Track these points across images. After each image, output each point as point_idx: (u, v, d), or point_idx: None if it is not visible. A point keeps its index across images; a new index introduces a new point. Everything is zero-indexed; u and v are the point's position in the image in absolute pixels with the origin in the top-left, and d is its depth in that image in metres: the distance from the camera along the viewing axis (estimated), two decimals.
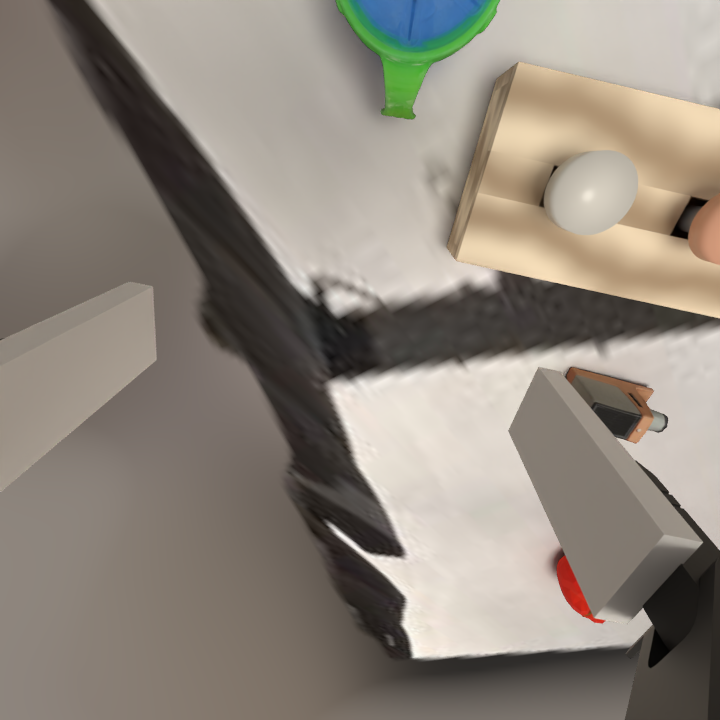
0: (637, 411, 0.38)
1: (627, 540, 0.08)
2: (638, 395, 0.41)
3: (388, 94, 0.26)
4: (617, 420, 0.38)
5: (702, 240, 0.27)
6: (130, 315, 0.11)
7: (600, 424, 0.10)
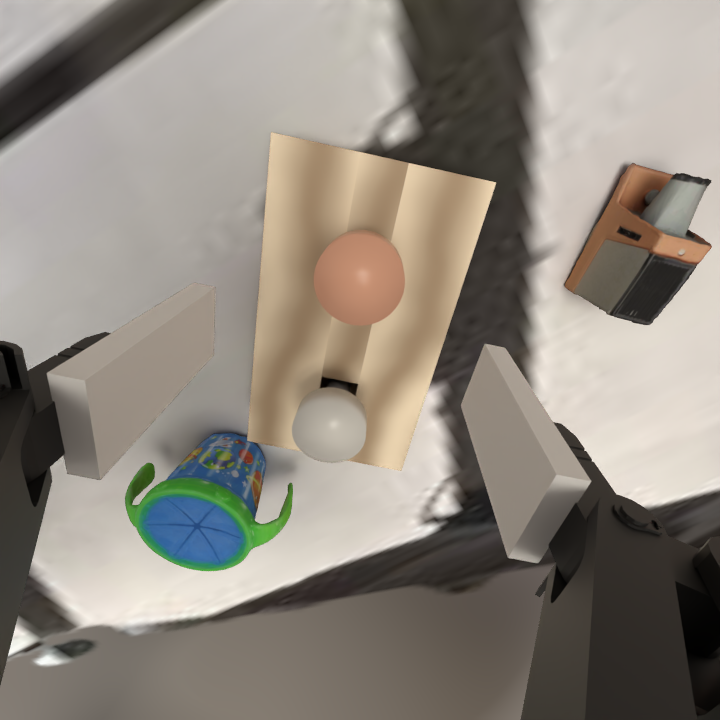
0: (643, 252, 0.24)
1: (533, 485, 0.09)
2: (626, 216, 0.26)
3: (273, 536, 0.36)
4: (652, 284, 0.25)
5: None
6: (199, 313, 0.12)
7: (528, 390, 0.11)
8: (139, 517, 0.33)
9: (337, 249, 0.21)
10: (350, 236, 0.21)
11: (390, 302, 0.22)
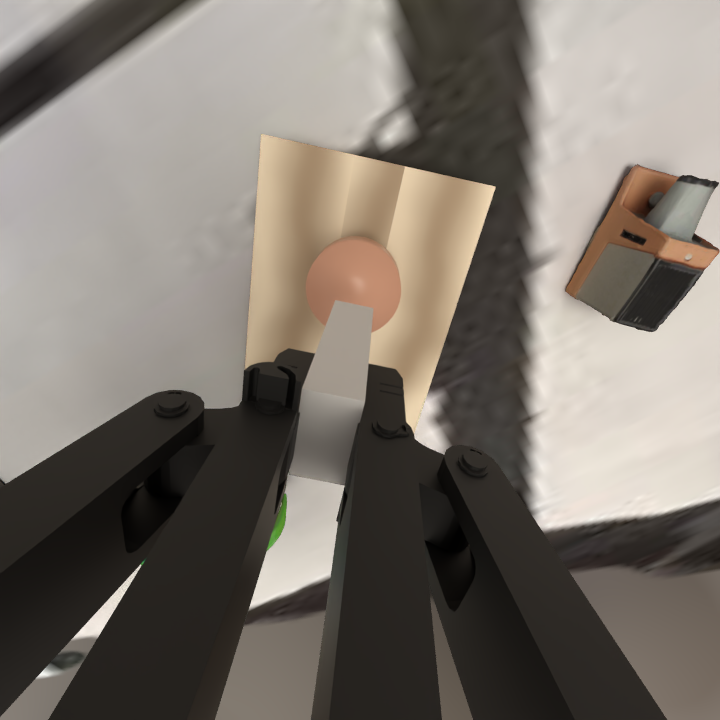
0: (648, 257, 0.24)
1: None
2: (630, 219, 0.25)
3: None
4: (657, 289, 0.24)
5: None
6: None
7: (366, 338, 0.12)
8: None
9: (330, 256, 0.20)
10: (344, 243, 0.20)
11: (386, 311, 0.21)
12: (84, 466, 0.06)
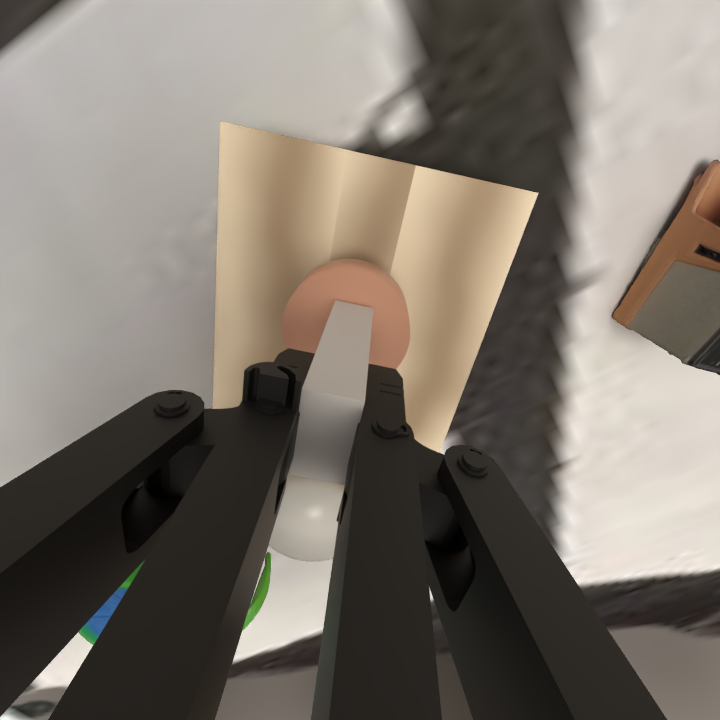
0: None
1: None
2: (710, 231, 0.19)
3: (244, 627, 0.29)
4: None
5: None
6: None
7: (366, 338, 0.12)
8: None
9: (314, 289, 0.15)
10: (332, 271, 0.14)
11: (390, 360, 0.16)
12: (84, 466, 0.06)
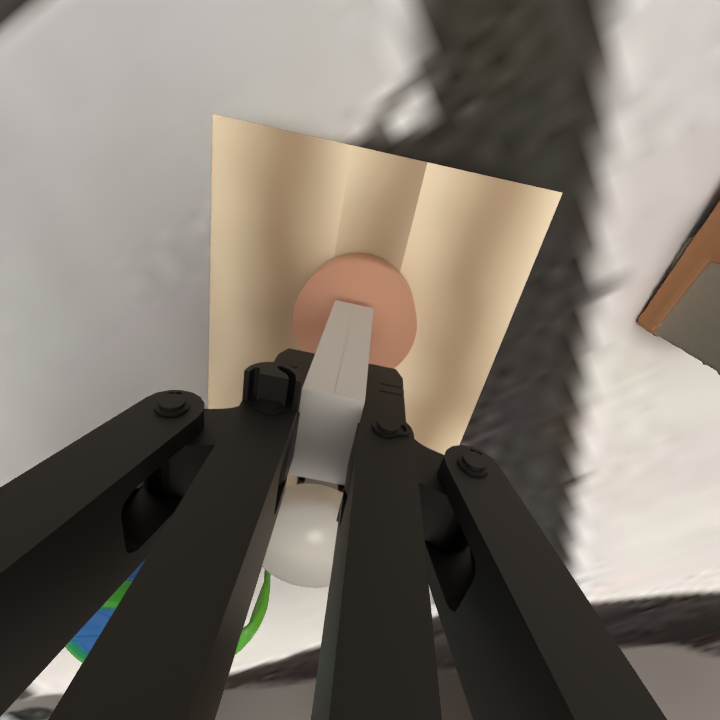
0: None
1: None
2: None
3: (242, 647, 0.27)
4: None
5: None
6: None
7: (366, 338, 0.12)
8: None
9: (324, 282, 0.15)
10: (342, 264, 0.15)
11: (396, 351, 0.16)
12: (84, 466, 0.06)
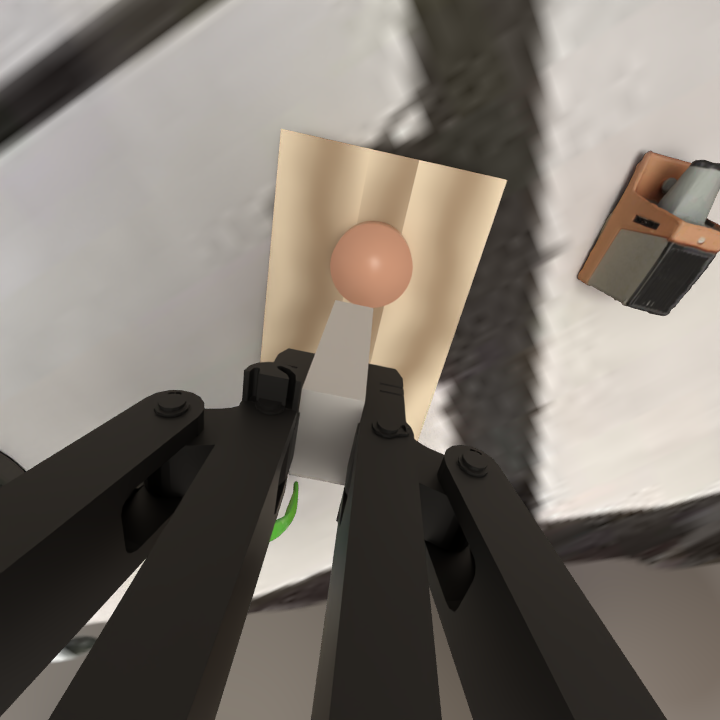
0: (661, 241, 0.24)
1: None
2: (643, 204, 0.26)
3: (279, 534, 0.36)
4: (670, 273, 0.24)
5: None
6: None
7: (366, 338, 0.12)
8: None
9: (352, 238, 0.23)
10: (364, 226, 0.23)
11: (399, 286, 0.25)
12: (84, 466, 0.06)
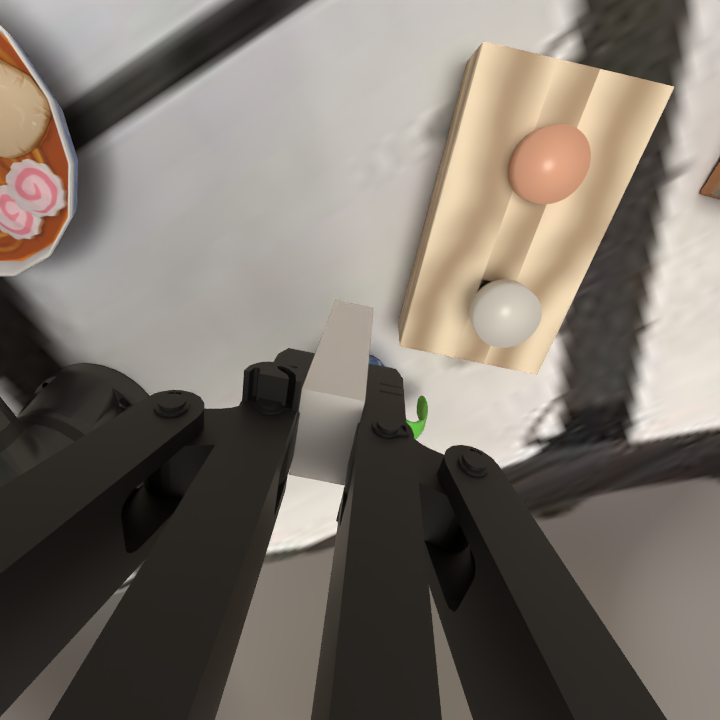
0: None
1: None
2: None
3: (417, 436, 0.39)
4: None
5: None
6: None
7: (366, 338, 0.12)
8: None
9: (541, 136, 0.27)
10: (553, 125, 0.27)
11: (574, 182, 0.28)
12: (84, 466, 0.06)
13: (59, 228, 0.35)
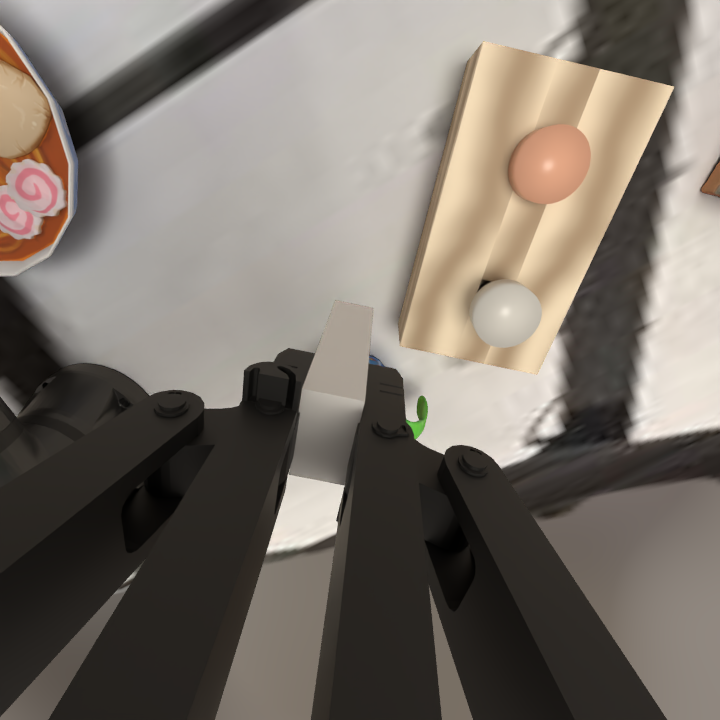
0: None
1: None
2: None
3: (417, 436, 0.39)
4: None
5: None
6: None
7: (366, 338, 0.12)
8: None
9: (541, 136, 0.27)
10: (553, 125, 0.27)
11: (574, 182, 0.28)
12: (84, 466, 0.06)
13: (59, 228, 0.35)
